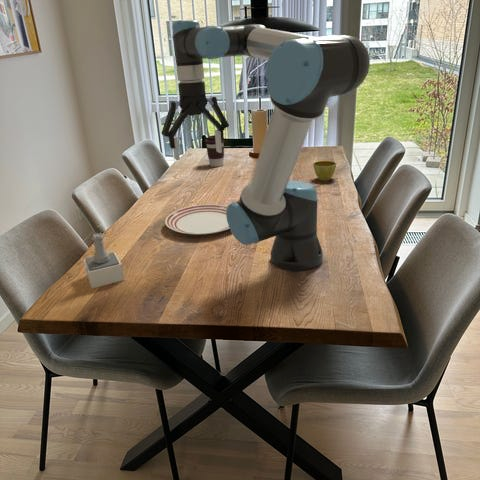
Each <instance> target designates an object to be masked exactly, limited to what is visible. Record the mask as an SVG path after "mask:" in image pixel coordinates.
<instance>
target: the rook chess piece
mask: <svg viewBox="0 0 480 480" xmlns="http://www.w3.org/2000/svg"><path fill="white" fill-rule="evenodd" d="M103 239H104V236H103V233H101V232H95V233H93V234H92V237H91V240H92V242H93V245H94V254H93V257H94V262H95V263H98V264H102V263H106V262H108V261H109V259H110V257H109V253H110V252H108V251H107V250H106V247H105V245H104V243H105V242H104V240H103Z"/></svg>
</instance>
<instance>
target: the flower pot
mask: <svg viewBox="0 0 480 480" xmlns="http://www.w3.org/2000/svg"><path fill="white" fill-rule="evenodd" d="M312 165H313V170H314V173H315V175H316V177H317V179H318V180H319V181H321V182H322V181H325V182H326V181H330V180H331V179H332V177H333V175H334V173H335V170H336V168H337V162H336V161H331V160H319V161H315V162H313V164H312Z"/></svg>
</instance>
